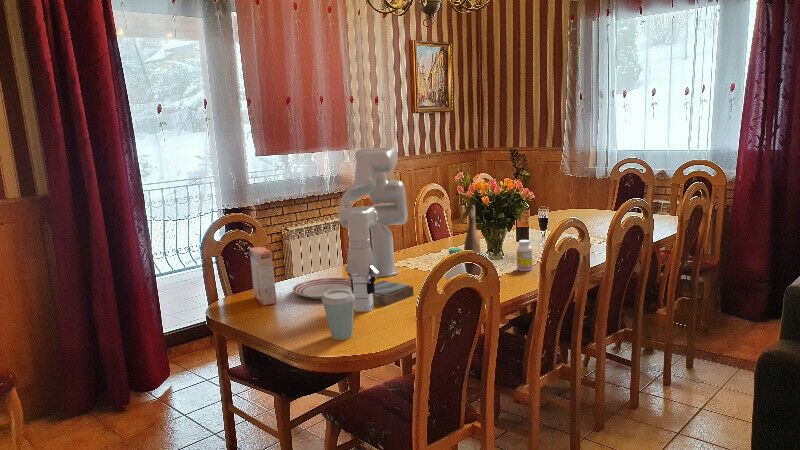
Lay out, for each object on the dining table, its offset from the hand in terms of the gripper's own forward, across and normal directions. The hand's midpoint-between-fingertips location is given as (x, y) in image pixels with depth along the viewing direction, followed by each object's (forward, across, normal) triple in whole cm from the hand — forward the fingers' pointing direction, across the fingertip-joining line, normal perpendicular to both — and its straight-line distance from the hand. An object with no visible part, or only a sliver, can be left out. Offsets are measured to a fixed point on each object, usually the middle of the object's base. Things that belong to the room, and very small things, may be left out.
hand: (363, 291), depth 217 cm
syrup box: (+7, 0, 0) cm, 7 cm away
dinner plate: (+7, -29, +7) cm, 31 cm away
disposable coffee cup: (+7, +14, -24) cm, 29 cm away
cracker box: (+7, -42, -14) cm, 45 cm away
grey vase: (+7, +11, +53) cm, 55 cm away
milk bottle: (+7, +23, +26) cm, 35 cm away
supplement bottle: (+7, +21, +78) cm, 81 cm away
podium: (+7, -4, +15) cm, 17 cm away
